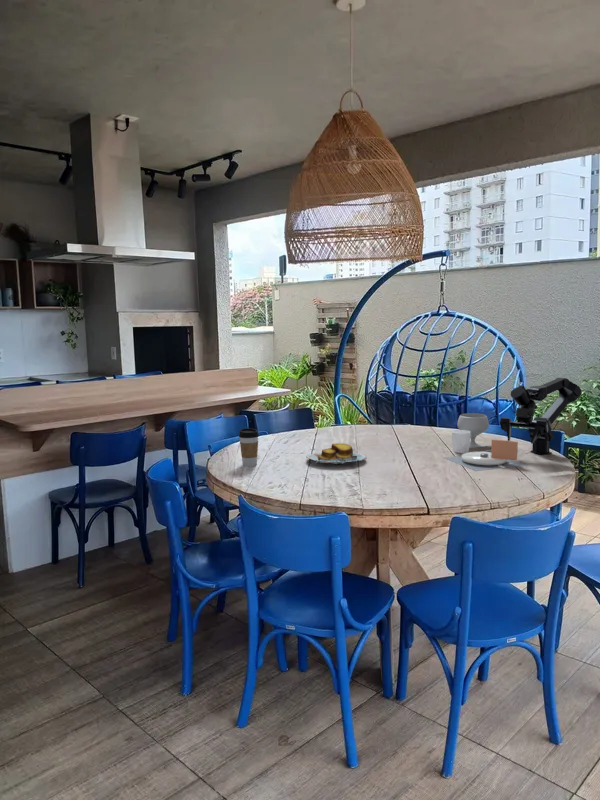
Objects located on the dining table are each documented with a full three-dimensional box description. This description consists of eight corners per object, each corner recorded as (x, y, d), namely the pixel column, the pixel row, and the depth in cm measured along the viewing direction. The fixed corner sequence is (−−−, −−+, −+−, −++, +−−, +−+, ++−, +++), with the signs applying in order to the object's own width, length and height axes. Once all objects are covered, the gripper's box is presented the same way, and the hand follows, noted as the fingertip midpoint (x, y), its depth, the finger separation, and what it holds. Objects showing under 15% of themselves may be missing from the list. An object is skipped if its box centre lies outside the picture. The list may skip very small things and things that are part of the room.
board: (491, 455, 268) (491, 452, 268) (527, 468, 245) (527, 464, 245) (442, 460, 261) (442, 457, 260) (475, 474, 238) (475, 470, 238)
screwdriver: (500, 450, 278) (500, 444, 278) (505, 451, 276) (505, 445, 276) (478, 454, 270) (478, 448, 270) (483, 455, 268) (483, 450, 268)
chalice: (465, 442, 294) (466, 411, 292) (493, 446, 285) (494, 414, 283) (451, 448, 284) (452, 416, 282) (480, 452, 275) (480, 419, 272)
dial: (489, 453, 264) (490, 433, 263) (518, 463, 246) (519, 441, 245) (453, 457, 258) (453, 436, 257) (480, 467, 240) (480, 445, 239)
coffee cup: (250, 461, 265) (249, 427, 263) (263, 464, 259) (262, 429, 257) (235, 465, 259) (234, 430, 257) (248, 468, 253) (247, 432, 251)
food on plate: (295, 463, 261) (294, 448, 260) (329, 452, 280) (329, 438, 280) (344, 472, 245) (344, 456, 245) (377, 460, 265) (377, 445, 264)
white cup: (470, 456, 268) (471, 433, 266) (452, 455, 269) (452, 433, 268) (469, 452, 275) (469, 430, 274) (451, 451, 277) (451, 429, 275)
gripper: (501, 398, 260) (493, 428, 253) (548, 401, 251) (541, 432, 243) (505, 414, 268) (498, 444, 260) (550, 417, 258) (544, 448, 251)
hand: (520, 442), depth 253 cm, fingers open, 9 cm apart
